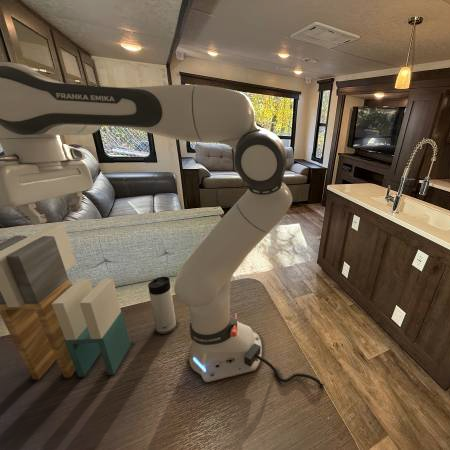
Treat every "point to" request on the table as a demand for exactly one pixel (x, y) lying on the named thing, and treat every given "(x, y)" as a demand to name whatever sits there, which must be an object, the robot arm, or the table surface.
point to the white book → (3, 276)
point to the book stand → (38, 305)
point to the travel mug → (162, 304)
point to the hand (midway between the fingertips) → (60, 216)
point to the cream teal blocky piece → (92, 324)
